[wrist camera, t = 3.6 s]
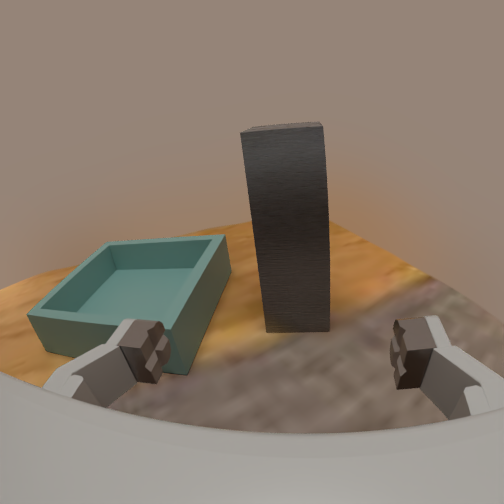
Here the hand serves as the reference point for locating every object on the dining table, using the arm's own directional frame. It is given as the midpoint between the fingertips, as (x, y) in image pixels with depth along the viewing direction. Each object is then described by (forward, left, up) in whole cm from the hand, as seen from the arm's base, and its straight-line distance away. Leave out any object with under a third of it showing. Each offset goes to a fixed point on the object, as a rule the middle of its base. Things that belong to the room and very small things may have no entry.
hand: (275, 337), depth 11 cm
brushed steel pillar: (0, +12, -8) cm, 14 cm away
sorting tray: (-14, +12, -8) cm, 20 cm away
